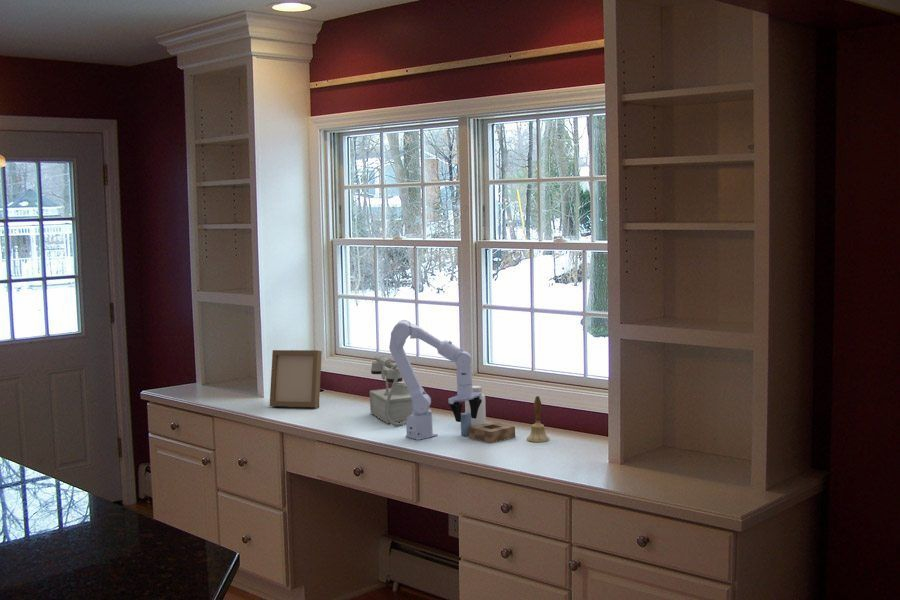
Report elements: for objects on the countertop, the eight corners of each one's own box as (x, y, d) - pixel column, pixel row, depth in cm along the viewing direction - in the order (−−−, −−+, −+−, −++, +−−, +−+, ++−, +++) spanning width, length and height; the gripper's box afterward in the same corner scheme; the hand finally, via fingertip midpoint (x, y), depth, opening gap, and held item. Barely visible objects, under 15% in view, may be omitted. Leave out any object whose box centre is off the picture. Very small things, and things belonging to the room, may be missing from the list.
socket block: (490, 443, 353) (490, 432, 352) (469, 437, 362) (468, 427, 361) (515, 437, 360) (514, 426, 360) (493, 432, 369) (493, 421, 369)
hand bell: (551, 437, 358) (550, 394, 356) (547, 442, 350) (546, 398, 348) (529, 436, 360) (527, 394, 358) (524, 442, 352) (523, 398, 351)
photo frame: (314, 409, 424) (312, 352, 422) (269, 408, 431) (266, 351, 429) (328, 402, 438) (326, 347, 436) (284, 401, 445) (282, 347, 443)
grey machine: (435, 422, 390) (433, 360, 387) (386, 428, 382) (383, 365, 380) (409, 408, 419) (406, 350, 417) (363, 413, 412) (360, 354, 410)
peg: (465, 436, 363) (465, 415, 363) (458, 435, 367) (458, 414, 366) (474, 435, 366) (473, 413, 365) (467, 433, 369) (466, 412, 368)
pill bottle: (489, 425, 381) (488, 387, 380) (470, 427, 378) (468, 389, 377) (481, 421, 389) (479, 384, 387) (462, 423, 386) (461, 386, 384)
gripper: (456, 388, 357) (457, 424, 358) (486, 382, 366) (487, 418, 367) (444, 385, 362) (445, 421, 364) (474, 380, 371) (475, 415, 373)
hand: (466, 419), depth 366 cm, fingers open, 7 cm apart
